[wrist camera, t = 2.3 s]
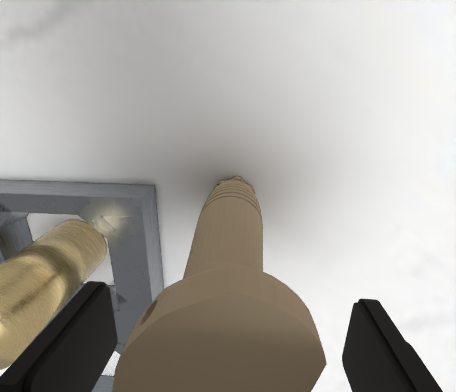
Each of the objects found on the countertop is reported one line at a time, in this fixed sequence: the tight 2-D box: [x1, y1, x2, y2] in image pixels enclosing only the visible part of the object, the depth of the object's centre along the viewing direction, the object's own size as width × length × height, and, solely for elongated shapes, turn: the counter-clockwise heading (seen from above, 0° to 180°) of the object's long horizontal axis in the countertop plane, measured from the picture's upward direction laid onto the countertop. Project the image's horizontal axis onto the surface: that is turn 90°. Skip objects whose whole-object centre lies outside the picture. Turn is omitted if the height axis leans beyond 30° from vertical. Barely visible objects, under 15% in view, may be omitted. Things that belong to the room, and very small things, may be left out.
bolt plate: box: [0, 180, 164, 392], centre depth 25 cm, size 25×15×3 cm, turn 179°
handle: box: [112, 176, 326, 392], centre depth 14 cm, size 5×6×15 cm
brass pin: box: [0, 220, 107, 370], centre depth 19 cm, size 5×5×10 cm
